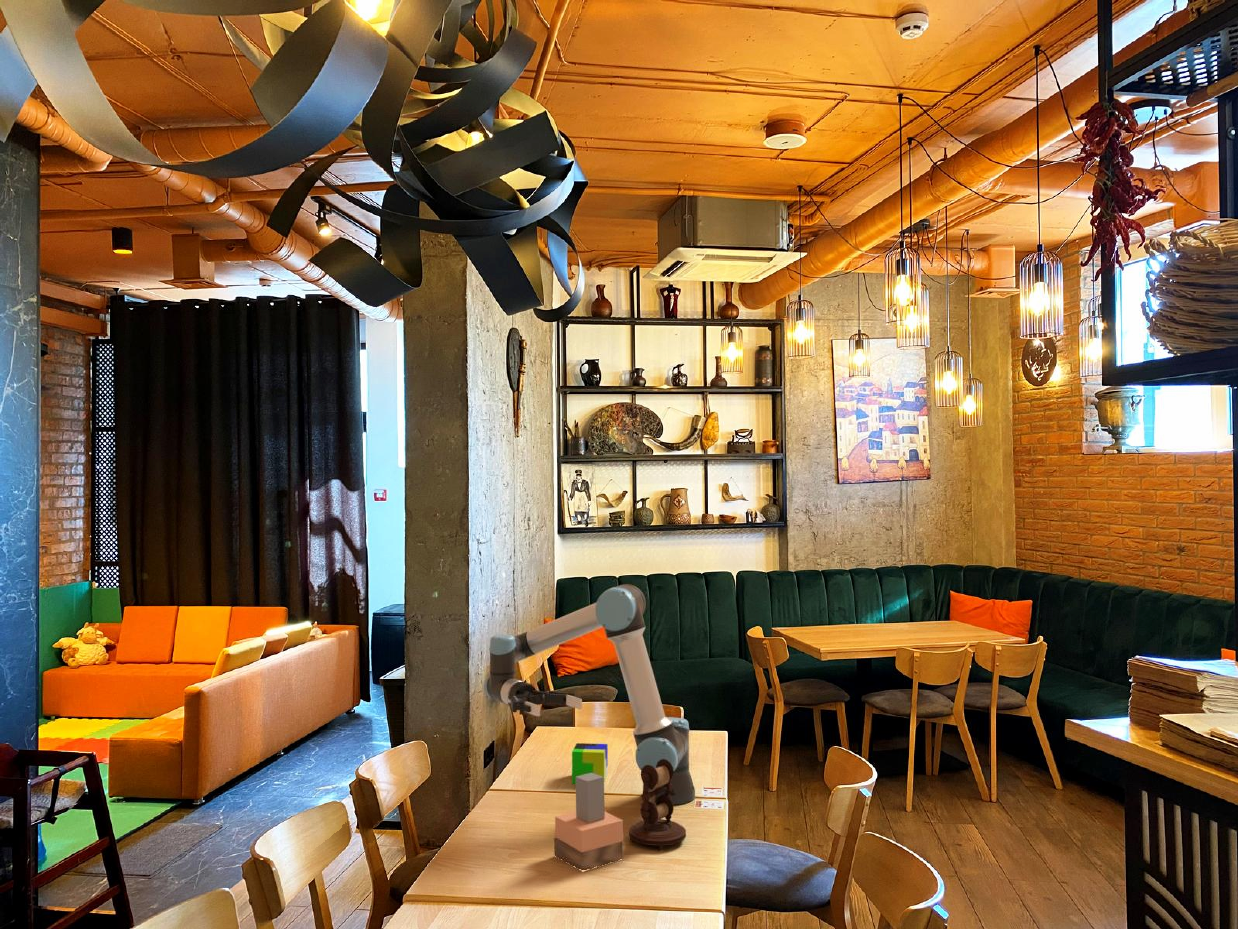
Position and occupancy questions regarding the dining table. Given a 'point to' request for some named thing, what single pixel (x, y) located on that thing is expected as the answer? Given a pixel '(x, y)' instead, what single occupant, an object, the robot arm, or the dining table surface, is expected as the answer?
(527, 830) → the dining table surface
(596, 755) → the puzzle toy
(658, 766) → the scroll
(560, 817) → the tower top
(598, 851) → the tower bottom
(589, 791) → the grey block
